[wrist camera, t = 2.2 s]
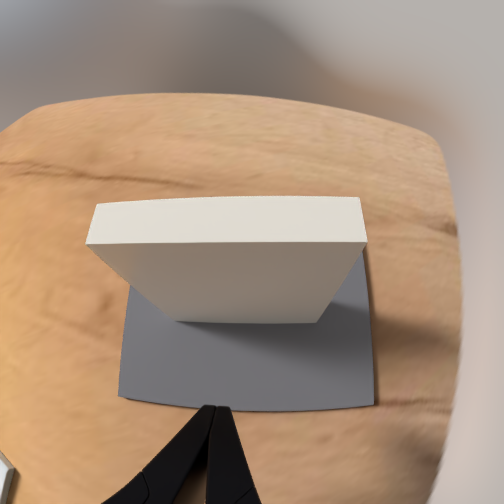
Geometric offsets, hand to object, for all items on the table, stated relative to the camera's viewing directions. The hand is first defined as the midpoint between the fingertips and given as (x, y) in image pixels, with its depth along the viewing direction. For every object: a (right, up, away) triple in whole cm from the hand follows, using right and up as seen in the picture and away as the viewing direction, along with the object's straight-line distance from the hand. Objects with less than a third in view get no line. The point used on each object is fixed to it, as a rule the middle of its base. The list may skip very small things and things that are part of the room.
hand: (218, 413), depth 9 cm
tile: (0, +1, +12) cm, 12 cm away
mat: (+1, +2, +13) cm, 13 cm away
